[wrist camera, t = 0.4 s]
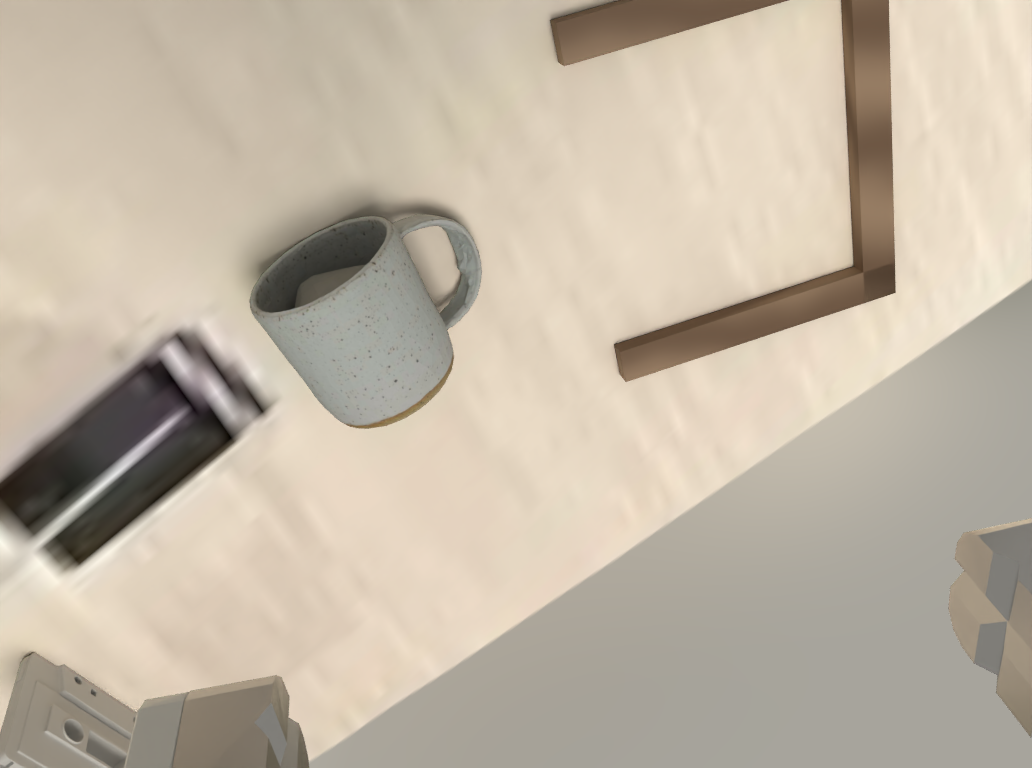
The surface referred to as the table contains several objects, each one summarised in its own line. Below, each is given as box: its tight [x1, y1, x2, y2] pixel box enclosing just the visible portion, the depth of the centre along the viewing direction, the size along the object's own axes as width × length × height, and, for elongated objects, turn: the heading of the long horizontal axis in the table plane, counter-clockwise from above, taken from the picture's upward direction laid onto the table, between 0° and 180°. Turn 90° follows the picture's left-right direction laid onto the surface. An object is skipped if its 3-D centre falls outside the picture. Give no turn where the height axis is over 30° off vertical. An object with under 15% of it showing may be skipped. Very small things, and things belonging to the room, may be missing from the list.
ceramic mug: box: [250, 214, 482, 429], centre depth 46 cm, size 11×8×8 cm
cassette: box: [0, 652, 137, 768], centre depth 54 cm, size 12×2×8 cm, turn 34°
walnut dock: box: [550, 0, 896, 382], centre depth 51 cm, size 20×17×1 cm
